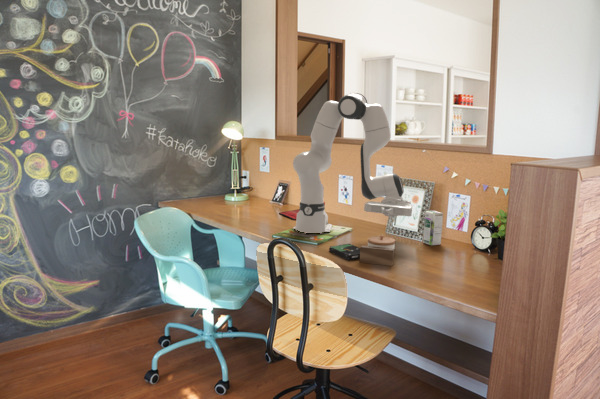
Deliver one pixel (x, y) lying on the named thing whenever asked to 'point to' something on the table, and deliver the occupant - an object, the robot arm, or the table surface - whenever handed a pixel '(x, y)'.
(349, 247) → the disk drive
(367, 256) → the walnut board
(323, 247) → the table surface
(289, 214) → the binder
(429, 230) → the syrup box
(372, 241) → the lidded jar
